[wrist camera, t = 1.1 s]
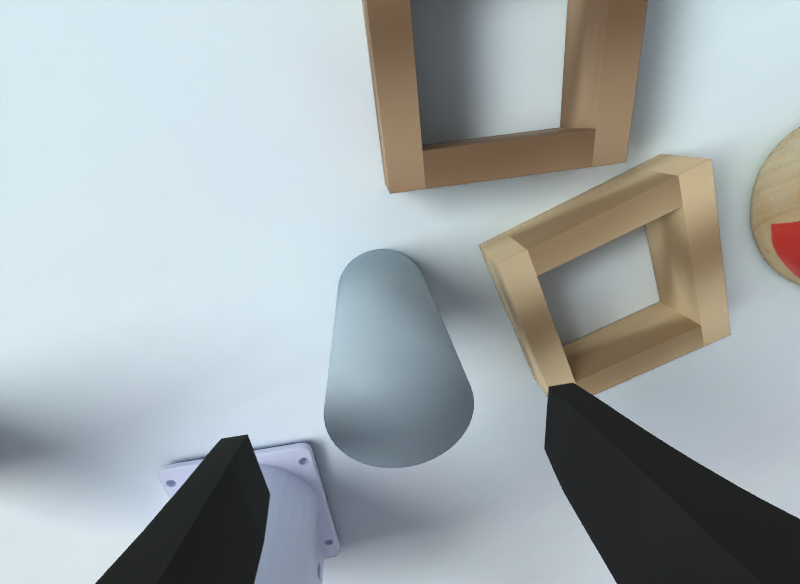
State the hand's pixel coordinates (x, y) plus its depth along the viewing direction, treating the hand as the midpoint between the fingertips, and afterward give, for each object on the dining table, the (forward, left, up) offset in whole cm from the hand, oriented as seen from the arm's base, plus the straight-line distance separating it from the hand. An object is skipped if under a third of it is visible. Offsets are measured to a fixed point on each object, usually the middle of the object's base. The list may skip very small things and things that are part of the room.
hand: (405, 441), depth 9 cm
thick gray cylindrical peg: (0, 0, -9) cm, 9 cm away
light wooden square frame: (-1, -10, -9) cm, 13 cm away
